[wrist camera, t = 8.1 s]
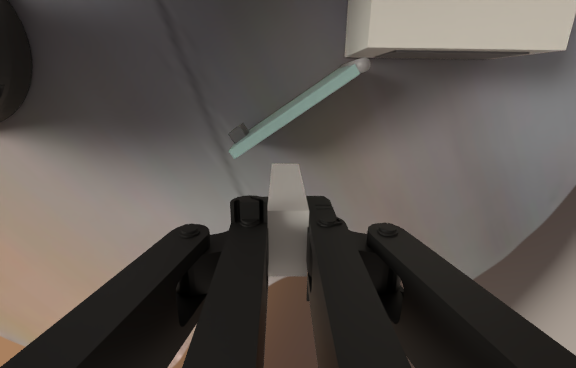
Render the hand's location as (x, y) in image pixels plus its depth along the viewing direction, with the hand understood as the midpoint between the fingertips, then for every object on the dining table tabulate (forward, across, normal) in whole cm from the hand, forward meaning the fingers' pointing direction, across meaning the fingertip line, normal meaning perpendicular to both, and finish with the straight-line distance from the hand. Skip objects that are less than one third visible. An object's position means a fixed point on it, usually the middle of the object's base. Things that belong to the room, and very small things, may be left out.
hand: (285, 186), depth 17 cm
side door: (+15, +1, +4) cm, 15 cm away
